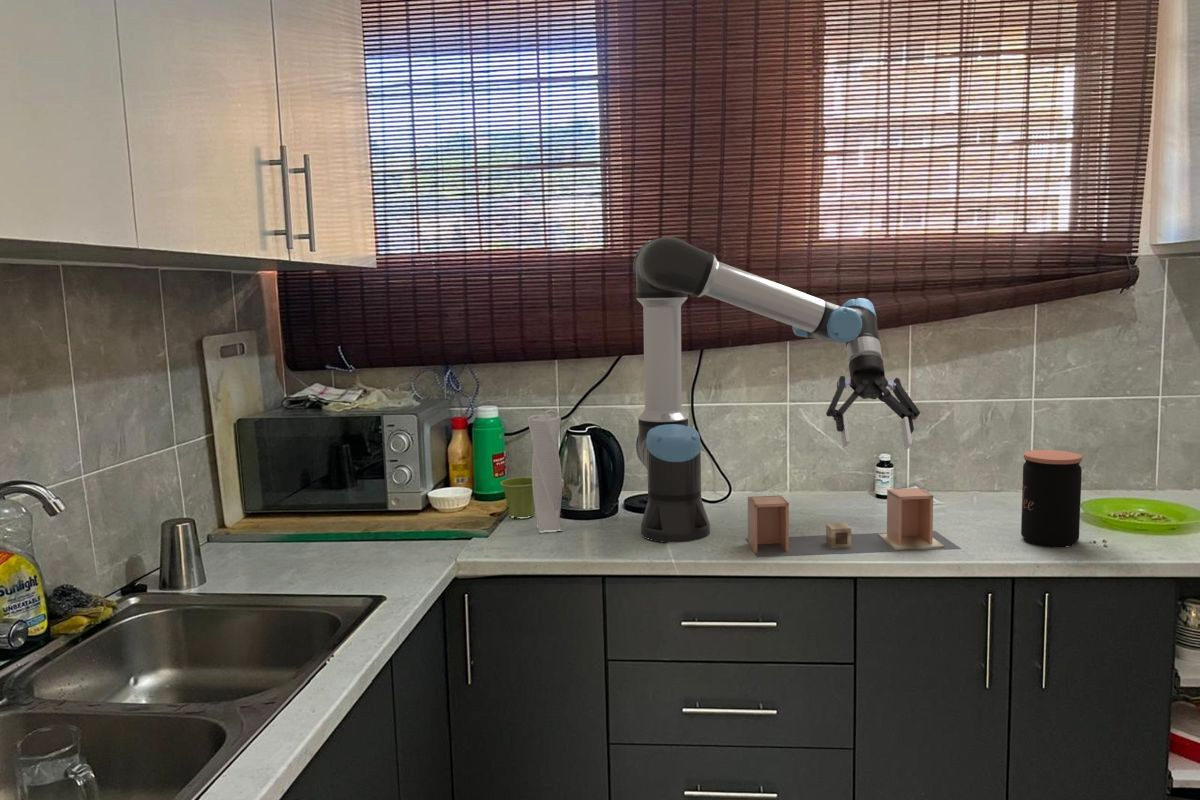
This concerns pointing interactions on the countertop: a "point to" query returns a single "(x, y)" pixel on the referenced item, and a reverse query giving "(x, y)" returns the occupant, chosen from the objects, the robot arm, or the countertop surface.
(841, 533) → the letter cube
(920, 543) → the coaster
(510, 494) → the plant pot
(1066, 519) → the coffee jar
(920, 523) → the cover
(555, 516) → the skyscraper
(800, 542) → the mat
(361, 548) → the countertop surface
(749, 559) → the countertop surface
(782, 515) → the cover
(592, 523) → the countertop surface
